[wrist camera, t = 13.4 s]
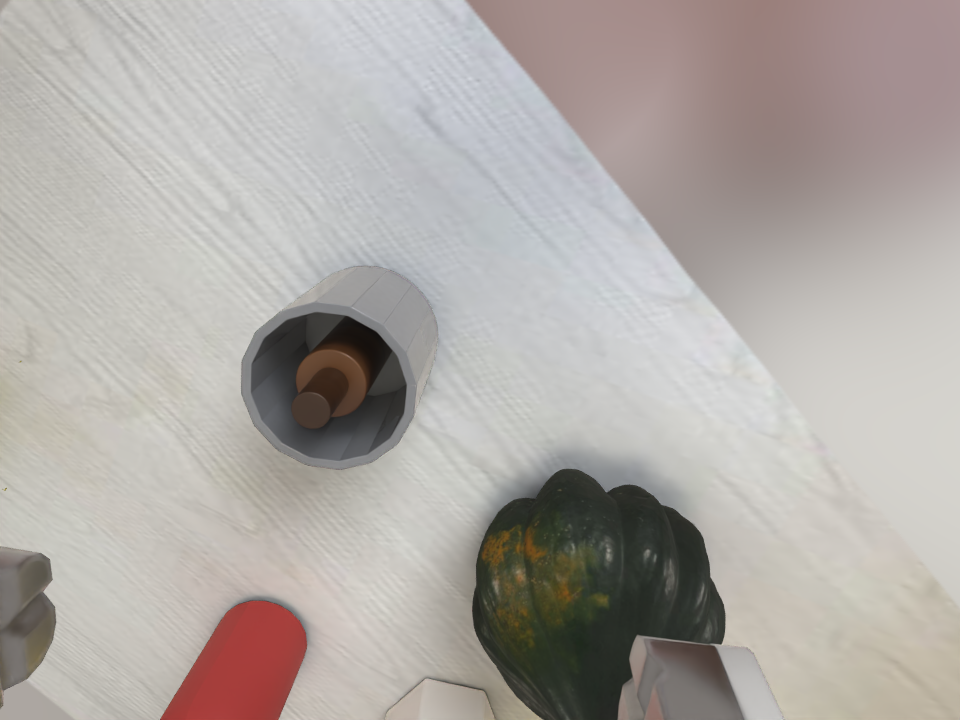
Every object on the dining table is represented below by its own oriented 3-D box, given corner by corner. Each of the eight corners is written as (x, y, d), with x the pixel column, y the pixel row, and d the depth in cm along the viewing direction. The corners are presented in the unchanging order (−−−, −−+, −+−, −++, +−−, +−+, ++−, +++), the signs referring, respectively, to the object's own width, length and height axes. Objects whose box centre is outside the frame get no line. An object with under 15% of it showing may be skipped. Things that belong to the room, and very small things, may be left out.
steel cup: (305, 256, 41) (242, 292, 32) (445, 275, 41) (423, 316, 32) (299, 388, 44) (239, 456, 35) (430, 406, 44) (407, 479, 35)
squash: (666, 415, 38) (528, 652, 29) (800, 595, 41) (712, 849, 33) (510, 442, 49) (379, 619, 41) (627, 581, 53) (528, 768, 44)
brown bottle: (339, 304, 41) (272, 367, 30) (398, 312, 41) (352, 378, 30) (336, 360, 43) (270, 441, 31) (392, 368, 43) (348, 452, 31)
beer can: (258, 579, 49) (179, 713, 38) (328, 634, 50) (272, 780, 39) (204, 631, 51) (112, 774, 39) (272, 684, 52) (203, 837, 40)
